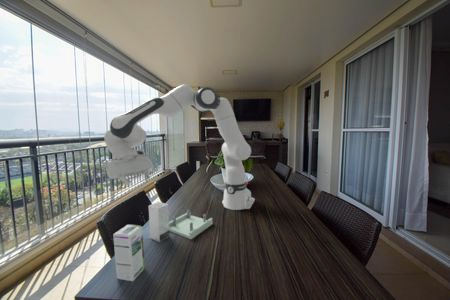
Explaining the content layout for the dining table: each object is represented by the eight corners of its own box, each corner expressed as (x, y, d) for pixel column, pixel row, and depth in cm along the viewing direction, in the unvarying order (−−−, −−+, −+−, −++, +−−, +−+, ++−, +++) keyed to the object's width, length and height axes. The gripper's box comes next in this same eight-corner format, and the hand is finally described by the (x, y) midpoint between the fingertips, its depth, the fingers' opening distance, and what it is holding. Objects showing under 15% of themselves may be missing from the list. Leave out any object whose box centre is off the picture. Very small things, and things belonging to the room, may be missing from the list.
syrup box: (133, 282, 54) (130, 235, 53) (115, 279, 55) (112, 233, 54) (145, 268, 60) (143, 225, 58) (129, 265, 61) (126, 223, 60)
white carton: (160, 232, 81) (158, 201, 80) (169, 236, 78) (168, 204, 77) (150, 238, 77) (148, 205, 76) (159, 242, 74) (158, 208, 73)
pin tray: (189, 216, 96) (188, 207, 96) (212, 224, 88) (212, 213, 88) (166, 229, 84) (165, 218, 83) (191, 239, 76) (190, 227, 75)
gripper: (103, 155, 76) (117, 182, 72) (147, 151, 93) (160, 172, 89) (98, 165, 79) (112, 191, 75) (142, 159, 96) (155, 180, 92)
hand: (139, 181), depth 82 cm, fingers open, 8 cm apart
